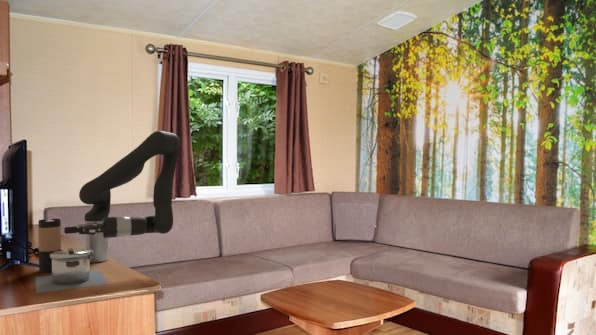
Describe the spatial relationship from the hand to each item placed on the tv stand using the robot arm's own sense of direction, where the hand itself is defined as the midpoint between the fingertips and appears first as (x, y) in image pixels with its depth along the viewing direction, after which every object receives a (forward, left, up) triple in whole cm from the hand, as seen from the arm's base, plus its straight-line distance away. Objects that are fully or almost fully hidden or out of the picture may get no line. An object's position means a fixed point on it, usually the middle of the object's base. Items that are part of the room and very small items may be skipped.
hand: (64, 230), depth 165 cm
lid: (0, +2, -9) cm, 10 cm away
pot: (0, +2, -18) cm, 18 cm away
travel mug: (-19, -4, -19) cm, 27 cm away
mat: (0, +2, -18) cm, 19 cm away
